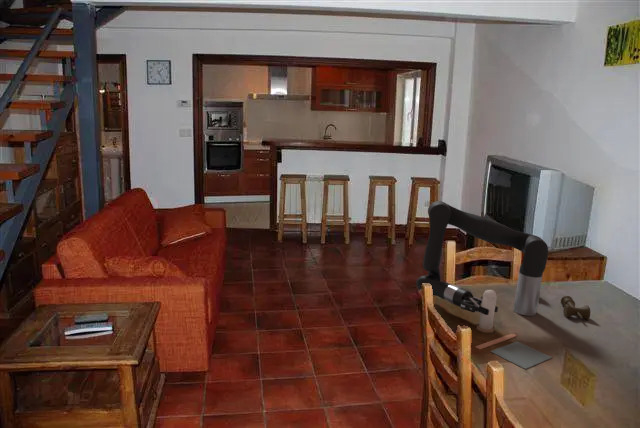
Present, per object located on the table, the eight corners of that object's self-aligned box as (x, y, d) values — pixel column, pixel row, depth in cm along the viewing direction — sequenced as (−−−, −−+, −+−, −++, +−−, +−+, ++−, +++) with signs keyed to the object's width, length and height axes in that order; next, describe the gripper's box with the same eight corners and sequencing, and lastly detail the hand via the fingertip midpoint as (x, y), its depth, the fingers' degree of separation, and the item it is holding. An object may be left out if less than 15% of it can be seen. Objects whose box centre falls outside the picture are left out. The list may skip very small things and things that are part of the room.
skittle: (483, 324, 209) (489, 285, 206) (496, 331, 204) (502, 291, 201) (473, 328, 206) (478, 288, 202) (486, 334, 201) (492, 294, 197)
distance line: (511, 334, 202) (512, 333, 202) (516, 336, 201) (516, 335, 201) (475, 347, 190) (475, 346, 189) (480, 349, 188) (480, 348, 188)
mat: (517, 341, 196) (517, 341, 196) (551, 358, 185) (551, 357, 185) (490, 351, 187) (490, 351, 187) (525, 369, 176) (525, 368, 176)
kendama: (576, 307, 236) (593, 325, 216) (554, 306, 237) (568, 323, 217) (578, 295, 234) (595, 311, 215) (555, 293, 236) (570, 309, 216)
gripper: (447, 290, 210) (482, 305, 196) (470, 284, 218) (505, 298, 205) (445, 308, 212) (479, 324, 198) (468, 301, 220) (502, 316, 206)
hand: (492, 311), depth 202 cm, fingers closed on skittle, 5 cm apart
